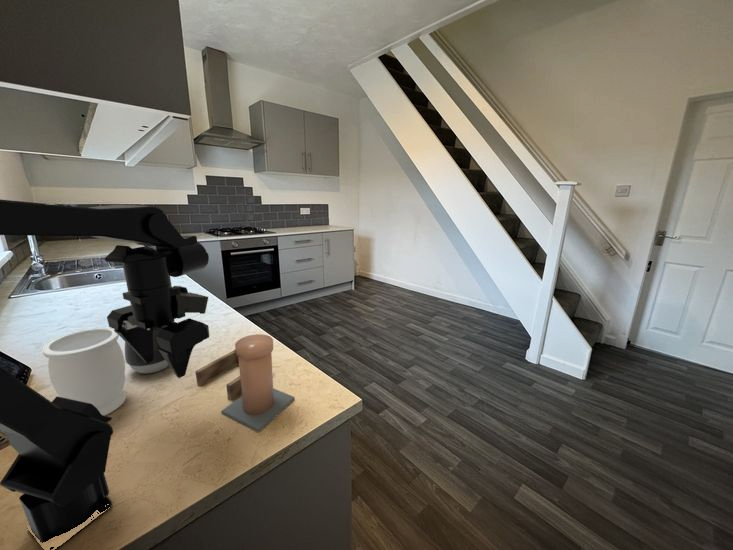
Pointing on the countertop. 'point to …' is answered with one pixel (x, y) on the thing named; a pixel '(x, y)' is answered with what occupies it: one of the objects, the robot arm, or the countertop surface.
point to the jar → (88, 368)
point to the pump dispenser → (139, 363)
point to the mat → (261, 419)
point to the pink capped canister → (256, 372)
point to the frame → (218, 368)
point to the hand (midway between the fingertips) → (165, 368)
